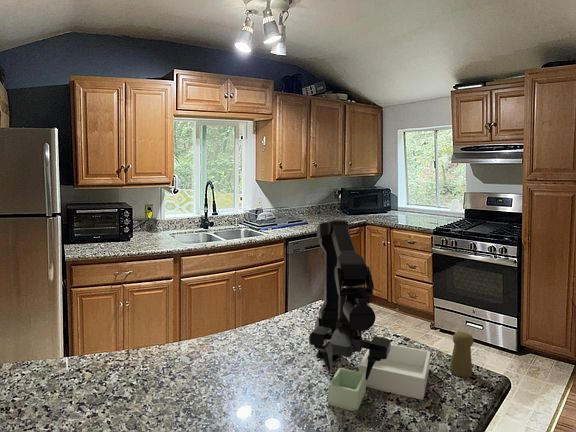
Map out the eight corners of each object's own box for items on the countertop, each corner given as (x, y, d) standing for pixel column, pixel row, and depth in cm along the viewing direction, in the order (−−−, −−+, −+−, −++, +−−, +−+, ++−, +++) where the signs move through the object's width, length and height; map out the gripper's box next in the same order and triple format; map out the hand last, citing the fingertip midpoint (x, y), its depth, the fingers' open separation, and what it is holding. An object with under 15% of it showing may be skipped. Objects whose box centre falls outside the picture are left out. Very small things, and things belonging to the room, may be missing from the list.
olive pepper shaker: (474, 378, 113) (477, 339, 111) (450, 375, 114) (453, 337, 112) (469, 367, 118) (472, 330, 117) (447, 364, 120) (449, 328, 118)
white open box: (358, 385, 108) (359, 365, 108) (371, 358, 123) (372, 340, 122) (423, 400, 102) (424, 378, 101) (429, 370, 117) (430, 351, 116)
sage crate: (327, 404, 100) (328, 384, 99) (338, 385, 108) (339, 367, 107) (356, 411, 97) (357, 391, 96) (365, 392, 105) (366, 373, 104)
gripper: (301, 318, 96) (299, 382, 98) (383, 333, 88) (380, 402, 91) (317, 303, 106) (316, 361, 108) (392, 315, 98) (389, 377, 101)
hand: (348, 375), depth 102 cm, fingers open, 9 cm apart
